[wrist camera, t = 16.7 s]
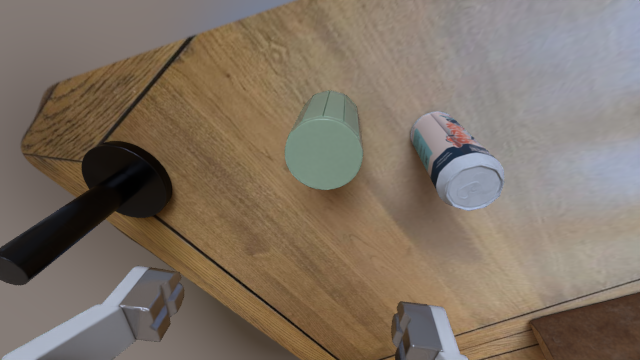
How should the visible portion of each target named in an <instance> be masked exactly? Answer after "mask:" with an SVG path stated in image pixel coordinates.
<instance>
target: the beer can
mask: <svg viewBox="0 0 640 360" xmlns="http://www.w3.org/2000/svg"><path fill="white" fill-rule="evenodd" d="M411 141H412V143H413V145H414V147H415V149H416V151H417V153H418V155H419V157H420V159H421V161H422V162H423V164H424V166H425V168H426V170H427V172H428V174H429V176H430V178H431V180H432V182H433V184H434V186H435V188H436V190H437V192H438V194H439V196H440V198H441V199H442V200H443V201H444V202H445V203H447V204H448V205H451V206H453V207H457V208H460V209H463V210H467V211H470V210H475V209H480V208H484V207H487V206H488V205H489V204H490V203H492V202H493V201H494V200H495V199H497V198H498V197H499V196H500V193H501V191H502V188H503V185H504V170H503V168H502V165H501V164H500V163H499V161H498V160H497V159H496V158H495V157H493V156H492V155H491V154H490V153H489V152H488V151H487V150H486V149H485V148H484V147H483V146H482V145H481V144H480V143H479V142H478V141H477V140H476V139H474V138H473V137H472V136H471V135H470V134H469V133H468V132H467V131H466V130H465V129H464V128H463V127H462V126H461V125H460V124H459V123H458V122H457V121H455V120H454V119H453V118H452V117H451V116H450V115H449V114H447V113H444V112H430V113H427V114H425V115H423V116H422V117H420V118H419V119H418V120H417V121H416V122H415V124H414V125H413V127H412V130H411Z"/></svg>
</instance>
